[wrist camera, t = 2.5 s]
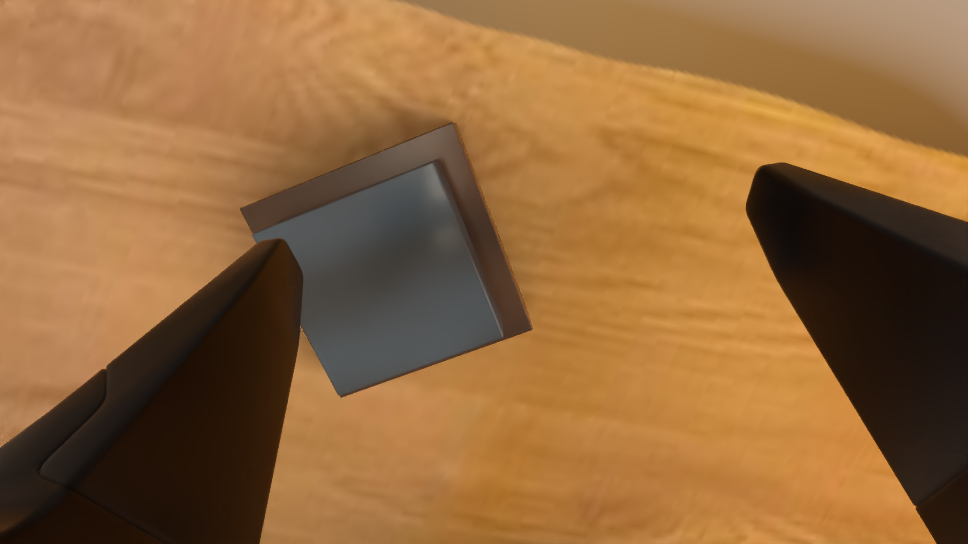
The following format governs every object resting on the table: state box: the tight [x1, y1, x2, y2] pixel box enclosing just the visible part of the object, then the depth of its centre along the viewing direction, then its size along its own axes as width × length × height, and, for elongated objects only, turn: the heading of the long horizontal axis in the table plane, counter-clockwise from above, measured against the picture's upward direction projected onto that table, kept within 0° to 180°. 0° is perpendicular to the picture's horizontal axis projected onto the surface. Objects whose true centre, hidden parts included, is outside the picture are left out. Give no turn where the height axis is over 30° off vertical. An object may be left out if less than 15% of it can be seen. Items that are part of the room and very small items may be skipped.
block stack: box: [240, 122, 532, 397], centre depth 23 cm, size 11×11×5 cm
